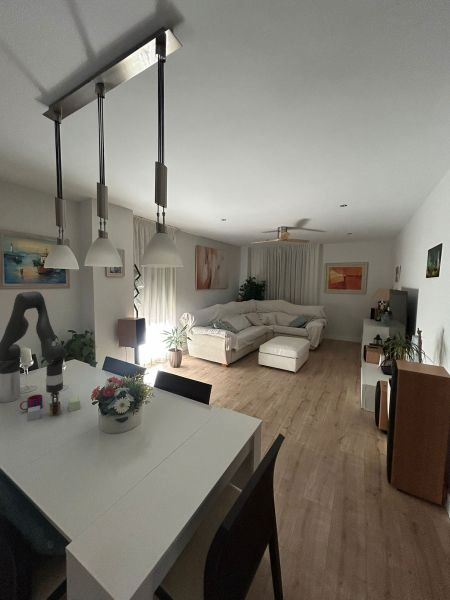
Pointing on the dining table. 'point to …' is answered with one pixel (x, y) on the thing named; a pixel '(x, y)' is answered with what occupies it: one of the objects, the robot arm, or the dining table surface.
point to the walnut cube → (52, 409)
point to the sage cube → (74, 404)
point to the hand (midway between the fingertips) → (55, 411)
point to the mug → (33, 401)
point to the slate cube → (33, 413)
